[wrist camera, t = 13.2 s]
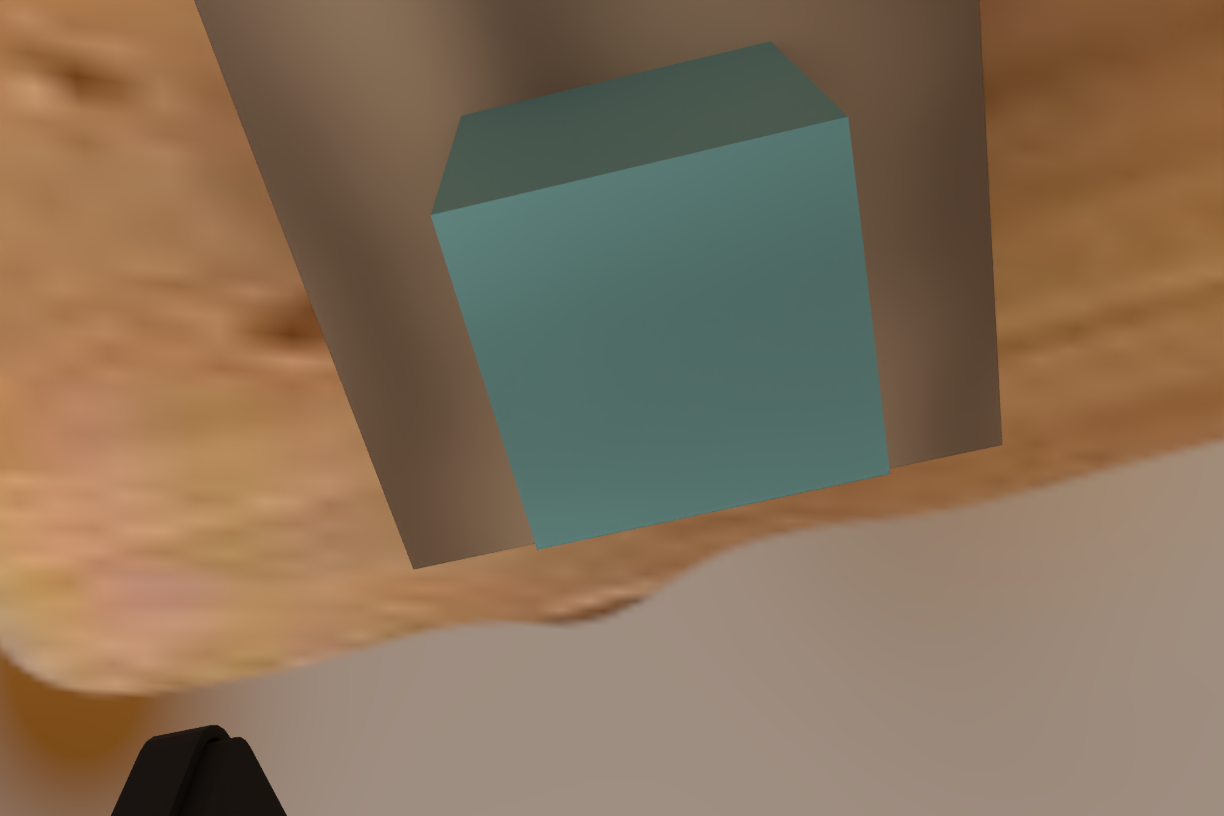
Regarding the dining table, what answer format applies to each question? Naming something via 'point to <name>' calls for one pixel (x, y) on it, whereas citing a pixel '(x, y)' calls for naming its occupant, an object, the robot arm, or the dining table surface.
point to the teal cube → (666, 292)
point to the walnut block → (558, 61)
